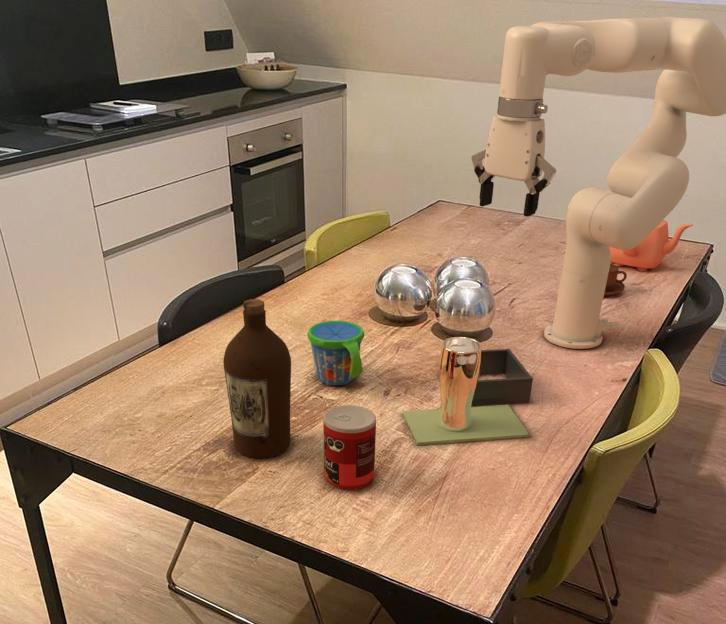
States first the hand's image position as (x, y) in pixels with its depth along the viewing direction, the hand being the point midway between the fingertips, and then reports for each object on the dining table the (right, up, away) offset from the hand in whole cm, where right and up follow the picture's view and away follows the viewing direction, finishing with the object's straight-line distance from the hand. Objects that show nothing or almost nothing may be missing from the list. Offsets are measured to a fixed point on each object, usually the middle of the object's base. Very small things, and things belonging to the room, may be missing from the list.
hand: (507, 209), depth 142 cm
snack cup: (-32, -31, +8) cm, 45 cm away
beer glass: (-11, -41, -7) cm, 43 cm away
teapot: (+49, +10, +71) cm, 87 cm away
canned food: (-29, -50, -21) cm, 62 cm away
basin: (-3, -33, +6) cm, 33 cm away
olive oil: (-44, -45, -13) cm, 64 cm away
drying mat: (-9, -41, -7) cm, 42 cm away
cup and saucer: (+34, -2, +53) cm, 63 cm away
